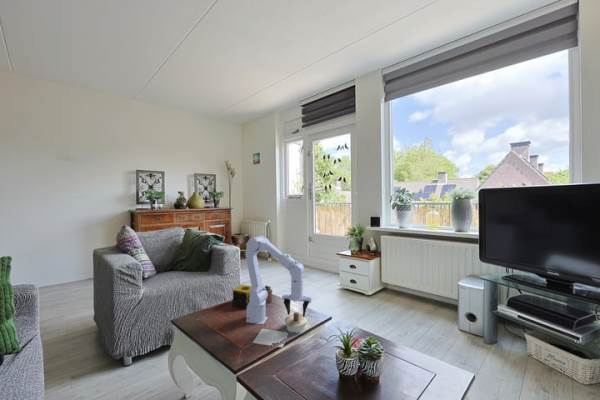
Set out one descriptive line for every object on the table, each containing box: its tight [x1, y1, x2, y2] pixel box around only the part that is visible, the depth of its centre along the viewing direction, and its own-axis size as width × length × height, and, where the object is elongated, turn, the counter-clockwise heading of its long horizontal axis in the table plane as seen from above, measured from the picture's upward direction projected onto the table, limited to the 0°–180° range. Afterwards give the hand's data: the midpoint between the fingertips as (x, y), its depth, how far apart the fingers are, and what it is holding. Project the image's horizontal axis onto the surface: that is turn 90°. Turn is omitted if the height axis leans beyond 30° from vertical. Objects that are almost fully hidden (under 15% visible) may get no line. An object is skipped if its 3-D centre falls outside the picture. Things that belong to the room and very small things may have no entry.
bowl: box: [286, 324, 306, 334], centre depth 132 cm, size 9×9×4 cm
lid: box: [284, 311, 308, 327], centre depth 132 cm, size 11×11×4 cm
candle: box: [231, 284, 252, 310], centre depth 157 cm, size 10×10×10 cm
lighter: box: [264, 285, 273, 304], centre depth 162 cm, size 8×3×10 cm, turn 84°
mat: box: [252, 328, 289, 348], centre depth 124 cm, size 14×12×1 cm
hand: (296, 314), depth 132 cm, fingers open, 7 cm apart
